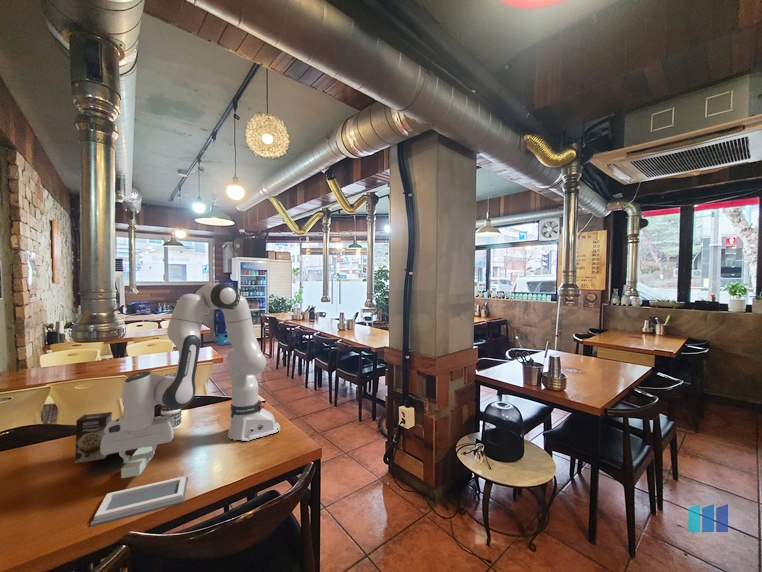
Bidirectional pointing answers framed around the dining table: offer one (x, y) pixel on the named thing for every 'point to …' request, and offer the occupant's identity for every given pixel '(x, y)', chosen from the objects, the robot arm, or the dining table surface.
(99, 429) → the coffee box
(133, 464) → the pale green rectangular block
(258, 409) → the robot arm
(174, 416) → the decorative candle
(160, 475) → the dining table surface
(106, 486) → the dining table surface
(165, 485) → the picture frame
